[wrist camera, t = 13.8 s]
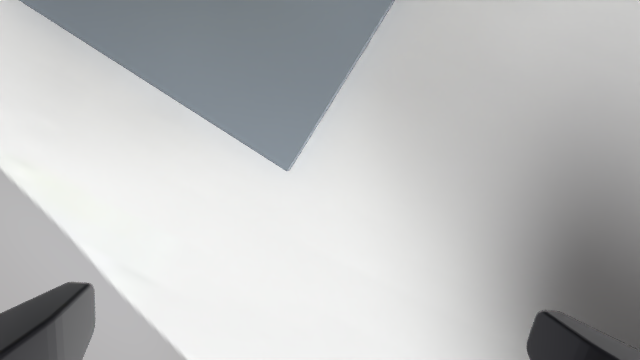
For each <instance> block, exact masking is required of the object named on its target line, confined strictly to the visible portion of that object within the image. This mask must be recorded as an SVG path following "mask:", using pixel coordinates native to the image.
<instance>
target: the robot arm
mask: <svg viewBox="0 0 640 360" xmlns="http://www.w3.org/2000/svg"><path fill="white" fill-rule="evenodd" d="M94 296H95V295H94V288H93V285H92V284H90V283H81V282H68V283H65V284H63V285H61V286H59V287H56V288H54V289H52V290H50V291H48V292H46V293H43V294H41V295H39V296H37V297H35V298H33V299H31V300H28V301H26V302H24V303H22V304H20V305H18V306H16V307H13V308H11V309H9V310H7V311H5V312H2V313H0V360H82V359H83V357H84V354H85V352H86V349H87V347H88V345H89V342H90V339H91V337H92V335H93V332H94V327H95V297H94ZM527 352H528V355H529V358H530V360H640V351H639V350H637V349H635V348H633V347H631V346H629V345H627V344H625V343H623V342H621V341H619V340H617V339H615V338H613V337H611V336H609V335H607V334H605V333H603V332H601V331H598V330H596V329H594V328H592V327H590V326H588V325H586V324H584V323H582V322H580V321H578V320H576V319H574V318H572V317H570V316H568V315H566V314H564V313H562V312H559V311H547V310H542V311H540V312H538V313H537V314H536V317H535V319H534V322H533V325H532V328H531V331H530V334H529V337H528V340H527Z"/></svg>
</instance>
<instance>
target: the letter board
mask: <svg viewBox="0 0 640 360" xmlns="http://www.w3.org/2000/svg"><path fill="white" fill-rule="evenodd" d="M20 1H21V2H23V3H24V4H26V5H27V6H29V7H30V8H32V9H34V10H35V11H37V12H38V13H40V14H41V15H43V16H45V17H46V18H48V19H49V20H51V21H52V22H54V23H56V24H57V25H59V26H60V27H62V28H63V29H65V30H66V31H68V32H70V33H71V34H73V35H74V36H76V37H77V38H79V39H81V40H82V41H84V42H85V43H87V44H88V45H90V46H92V47H93V48H95V49H96V50H98V51H99V52H101V53H102V54H104V55H106V56H107V57H109V58H110V59H112V60H113V61H115V62H117V63H118V64H120V65H121V66H123V67H124V68H126V69H128V70H129V71H131V72H132V73H134V74H135V75H137V76H138V77H140V78H142V79H143V80H145V81H146V82H148V83H149V84H151V85H153V86H154V87H156V88H157V89H159V90H160V91H162V92H164V93H165V94H167V95H168V96H170V97H171V98H173V99H174V100H176V101H178V102H179V103H181V104H182V105H184V106H185V107H187V108H189V109H190V110H192V111H193V112H195V113H196V114H198V115H200V116H201V117H203V118H204V119H206V120H207V121H209V122H210V123H212V124H214V125H215V126H217V127H218V128H220V129H221V130H223V131H225V132H226V133H228V134H229V135H231V136H232V137H234V138H236V139H237V140H239V141H240V142H242V143H243V144H245V145H246V146H248V147H250V148H251V149H253V150H254V151H256V152H257V153H259V154H261V155H262V156H264V157H265V158H267V159H268V160H270V161H272V162H273V163H275V164H276V165H278V166H279V167H281V168H282V169H284V170H286V171H289V170H290V169H291V167H292V166H293V164H294V163H295V161H296V159H297V158H298V156H299V154H300V153H301V151H302V150H303V148H304V146H305V145H306V143H307V142H308V140H309V138H310V137H311V135H312V133H313V132H314V130H315V129H316V127H317V125H318V124H319V122H320V121H321V119H322V117H323V116H324V114H325V112H326V111H327V109H328V108H329V106H330V104H331V103H332V101H333V100H334V98H335V96H336V95H337V93H338V91H339V90H340V88H341V87H342V85H343V83H344V82H345V80H346V79H347V77H348V75H349V74H350V72H351V70H352V69H353V67H354V66H355V64H356V62H357V61H358V59H359V58H360V56H361V54H362V53H363V51H364V49H365V48H366V46H367V45H368V43H369V41H370V40H371V38H372V37H373V35H374V33H375V32H376V30H377V28H378V27H379V25H380V24H381V22H382V20H383V19H384V17H385V16H386V14H387V12H388V11H389V9H390V7H391V6H392V4H393V3H394V1H395V0H20Z"/></svg>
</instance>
